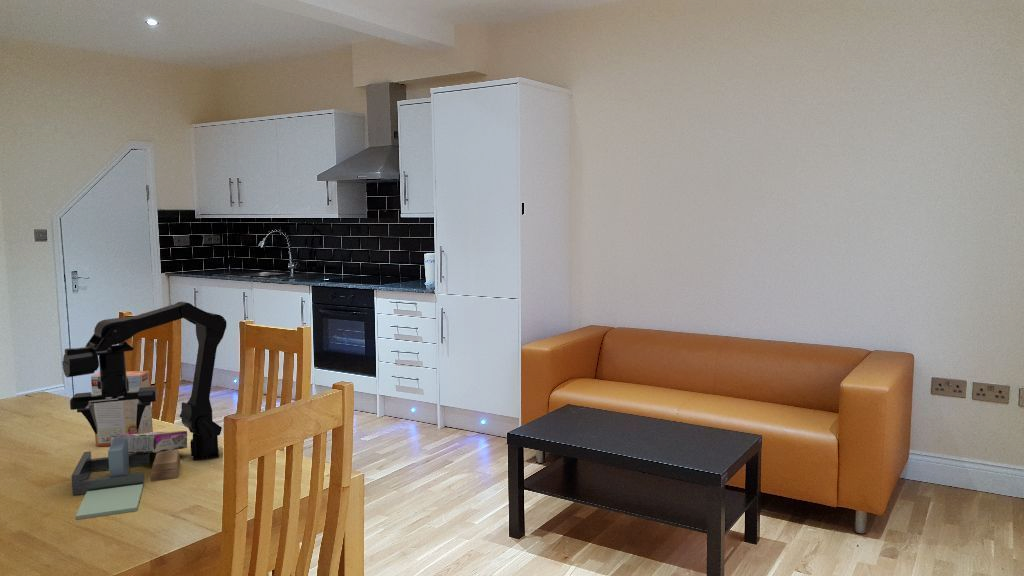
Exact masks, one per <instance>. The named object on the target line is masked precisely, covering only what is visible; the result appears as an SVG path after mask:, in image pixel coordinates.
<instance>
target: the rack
mask: <svg viewBox="0 0 1024 576" xmlns="http://www.w3.org/2000/svg"><path fill="white" fill-rule="evenodd" d="M150 462H151V461H150V452H148V453H129V468H135V467H142V466H149V465H150ZM102 471H109V459H108V456H105V457H95V458H92V452H91V451H83V453H82V455H81V457H80V459H79V461H78V463H77V464H76V466H75V468H74V470H73V472H72V474H71V475H70V476H71V487H72V488H71V489H72V496H73V497H75V496H80V495H85V494H86V492H87V491H94V490H102V489H109V488H117V487H124V486H132V485H139V484H143V487H144V486H145V478H144V477H145V476H144V472H142V471H141V472H136V473H135V472H134V473H128V474H126V475H118V476H110V475H109V476H104V477H96V478H90V476H91V473H94V472H102Z"/></svg>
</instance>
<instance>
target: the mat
mask: <svg viewBox="0 0 1024 576" xmlns="http://www.w3.org/2000/svg"><path fill="white" fill-rule="evenodd" d="M143 490H144V486H143V484H139V485H132V486H124V487H117V488H109V489H102V490H94V491H87V492H86V494H84V497H83V499H82V501H81V504H80V506H79V508H78V510H77V512H76V514H75V520H83V519H84V520H85V519H90V518H97V517H104V516H109V515H118V514H124V513H125V514H126V513H131V512H138V508H139V506H140V502H139V501H141V498H142V494H143ZM140 497H141V498H140Z"/></svg>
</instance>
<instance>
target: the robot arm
mask: <svg viewBox="0 0 1024 576" xmlns="http://www.w3.org/2000/svg"><path fill="white" fill-rule="evenodd" d="M181 319H184V320H186V321H187V322H189V323H191V324H193V325H195V336H196V340H197V342H198V348H197V354H196V361H195V367H194V373H193V374H194V375H193V381H192V387H191V388H192V389H191V395H190V398H189V399H188V401H187V402H181V411H180V413H179V415H178V416H179V418H180V419H181V424H182V425H183V426H184V427H185V428H188V430H189V432H190V433H191V434H192V438H191V439H190V442H189V443H190V457H192V460H193V461H199V460H206V459H214V458H219V457H220V449H219V438H218V437H219V436H221V433H222V430H223V427H222V426H221V425H219V424H217V423H216V422H215V421H213V407H212V404H211V400H210V396H211V391H212V390H211V389H212V383H213V376H214V371H215V370H214V368H215V361H216V356H217V349H218V346H219V344H220V343H221V341H222V339H224V335H225V332H226V329H227V324H228V323H227V320H226V319H225V318H224V316H222V315H221V314H216V313H213V312H207V311H205V310H203V309H201V308H198V307H196V306H195V305H193V304H192V303H190V302H187V301H177V302H176V303H174V304H171V305H167V306H163V307H160V308H157V309H153V310H150V311H148V312H144V313H140V314H137V315H133V316H126V317H116V318H115V317H114V318H107V319H103V320H100V321H99V322H97V323H96V325H95V327H94V330H93V332H94V333H93V335H92V336H91V337H90V339H89V340H88V341H87V343H86V345H85V346H83V347H77V348H65V349H64V354H63V358H62V362H61V363H62V370H63V374H64V376H65V377H66V378H73V377H79V376H85V375H91V374H93V375H94V373H95V372H96V371H98V369H99V373H100V376H99V377H98V389H101V394H102V395H96V396H92V391H91V392H89V391H88V392H78V393H77V392H76V393H75V394H74V395H73V396H72V397H71V399H70V400H69V408H70V410H73V411H74V410H76V412H77V413H78V414H79V413H81V414H82V415H83V416H84V418H85V419H86V420H87V422H88V424H89V425H90V427H91V429H92V431H93V432H94V435H95V434H97V433H98V427H97V422H96V417H95V412H94V403H103V402H113V401H123V400H134V399H138V401H139V402H138V404H137V418H136V427H137V429H139V426H140V422H141V418H142V414H143V412H144V409H145V407H146V406H149V405H151V406H152V403H154V402H157V398H158V389H157V387H156V386H150V387H143V388H139V391H138V392H129V393H128V391H129V381H128V378H127V377H126V371H127V366H126V352H129V351H130V352H132V351H134V350H135V348H134V347H133V346H131V345H130V344H129V343H128V342H127V341H128V340H129V339H132V338H133V337H134V336H135V335H137V334H140V333H141V332H143V331H146V330H150V329H152V328H155V327H159V326H161V325H166V324H168V323H172V322H176V321H178V320H181ZM108 397H111V398H109V399H108ZM106 398H107V399H106Z"/></svg>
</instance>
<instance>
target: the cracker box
mask: <svg viewBox="0 0 1024 576" xmlns="http://www.w3.org/2000/svg"><path fill="white" fill-rule="evenodd" d="M99 376H100V372H97V373H95V374H93V375H91V376H90V380H91V381H90V382H91V394H92V396H96V395H102V394H101V389H98V377H99ZM126 377H127V378H128V381H129V391H128V393H129V392H138V391H139V388H143V387H151V385H150V371H149V370H140V371H139V370H132V371H128V370H126ZM109 398H111V397H108V399H109ZM106 399H107V398H106ZM138 402H139V401H138V399H134V400H123V401H113V402H103V403H94V412H95V417H96V422H97V427H98V433H97V434H95V433H94V439H95V446H96V447H110V437H111V436H118V435H126V434H135V433H149V432H154V431H153V429H154V428H153V416H152V415H153V414H152V413H153V412H152V404H151V405H149V406H146V407H145V409H144V412H143V414H142V418H141V422H140V426H139V429H137V427H136V418H137V404H138Z"/></svg>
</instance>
